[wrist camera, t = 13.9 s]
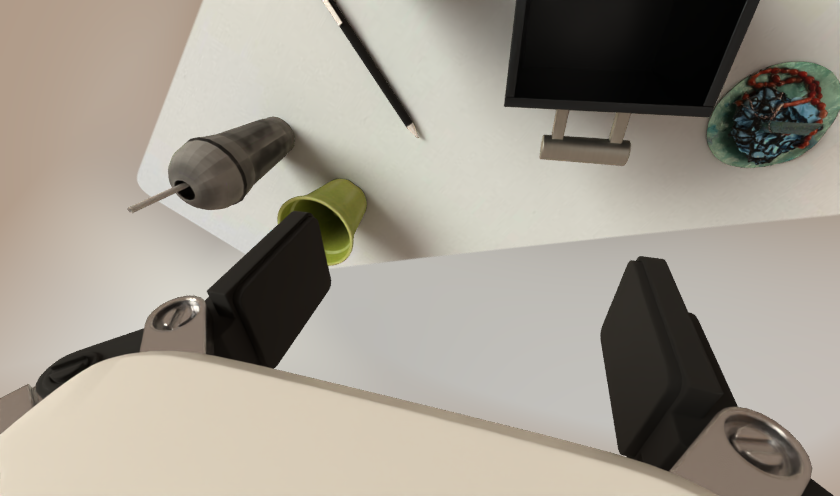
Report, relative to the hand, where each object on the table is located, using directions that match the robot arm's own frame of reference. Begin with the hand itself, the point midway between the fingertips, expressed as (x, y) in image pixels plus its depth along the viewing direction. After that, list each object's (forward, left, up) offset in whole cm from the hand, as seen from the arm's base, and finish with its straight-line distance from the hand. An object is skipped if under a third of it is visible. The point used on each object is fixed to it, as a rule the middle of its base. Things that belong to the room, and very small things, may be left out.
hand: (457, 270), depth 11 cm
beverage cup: (+8, -28, -31) cm, 42 cm away
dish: (+3, +22, -31) cm, 38 cm away
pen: (-1, -15, -30) cm, 34 cm away
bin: (-3, +6, -30) cm, 31 cm away
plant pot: (+16, -20, -31) cm, 40 cm away
